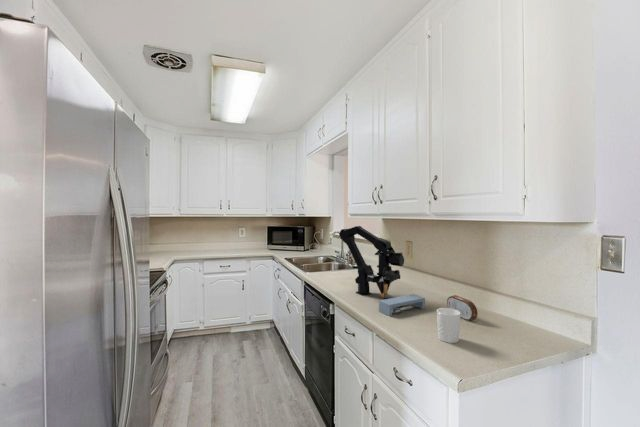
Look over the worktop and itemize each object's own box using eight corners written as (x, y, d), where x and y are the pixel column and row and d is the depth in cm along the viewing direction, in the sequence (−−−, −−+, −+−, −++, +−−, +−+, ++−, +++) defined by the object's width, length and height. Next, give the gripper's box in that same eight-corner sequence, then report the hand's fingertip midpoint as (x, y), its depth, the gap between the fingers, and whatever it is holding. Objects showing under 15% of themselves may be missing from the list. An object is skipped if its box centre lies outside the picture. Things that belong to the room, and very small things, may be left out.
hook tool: (373, 297, 153) (373, 284, 153) (384, 295, 157) (384, 283, 156) (394, 307, 139) (394, 292, 139) (405, 304, 143) (405, 290, 143)
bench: (378, 311, 133) (378, 300, 133) (413, 304, 144) (413, 294, 144) (389, 316, 127) (389, 304, 127) (424, 308, 138) (424, 297, 138)
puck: (389, 311, 134) (389, 308, 134) (395, 309, 136) (395, 306, 136) (395, 314, 131) (395, 310, 131) (402, 312, 133) (402, 309, 133)
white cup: (431, 336, 106) (431, 309, 106) (447, 333, 110) (447, 306, 110) (449, 345, 99) (449, 316, 99) (465, 341, 102) (465, 313, 102)
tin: (478, 322, 120) (478, 302, 120) (472, 323, 119) (472, 303, 119) (451, 311, 134) (451, 292, 134) (445, 311, 133) (445, 293, 133)
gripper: (380, 268, 143) (380, 299, 143) (408, 264, 152) (408, 294, 152) (366, 264, 153) (366, 294, 153) (393, 261, 162) (393, 289, 162)
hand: (383, 293), depth 155 cm, fingers closed on hook tool, 2 cm apart
